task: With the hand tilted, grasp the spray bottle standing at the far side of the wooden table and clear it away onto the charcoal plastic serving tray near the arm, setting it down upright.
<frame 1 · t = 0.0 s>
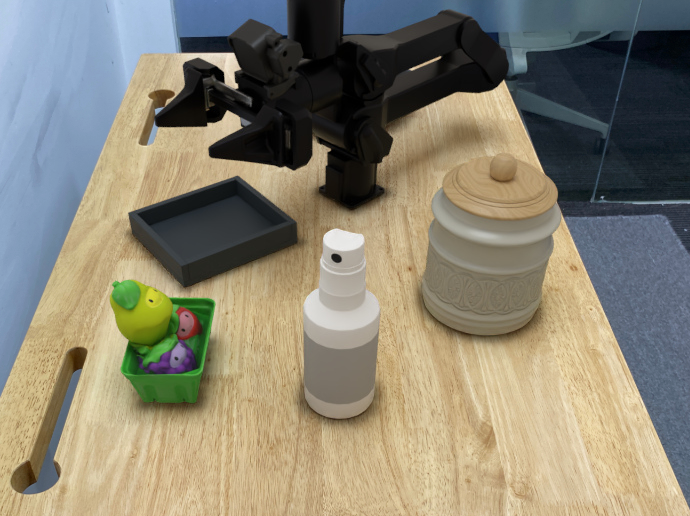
hand: (181, 136, 79), 17 cm above the table, tool horizontal, fingers open, 9 cm apart
tray: (214, 238, 95), on the table
fruit basket: (171, 373, 78), on the table
jar: (478, 302, 86), on the table
spray bottle: (339, 396, 75), on the table
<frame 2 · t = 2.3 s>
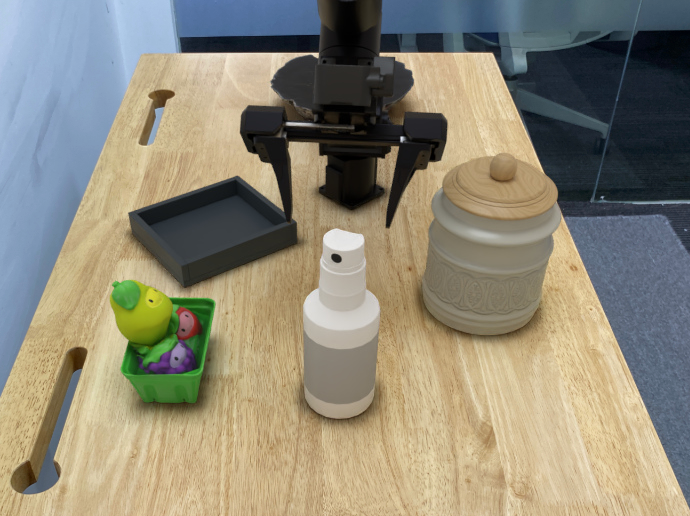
hand: (338, 225, 71), 14 cm above the table, tool tilted 45°, fingers open, 9 cm apart
nothing on the table moved.
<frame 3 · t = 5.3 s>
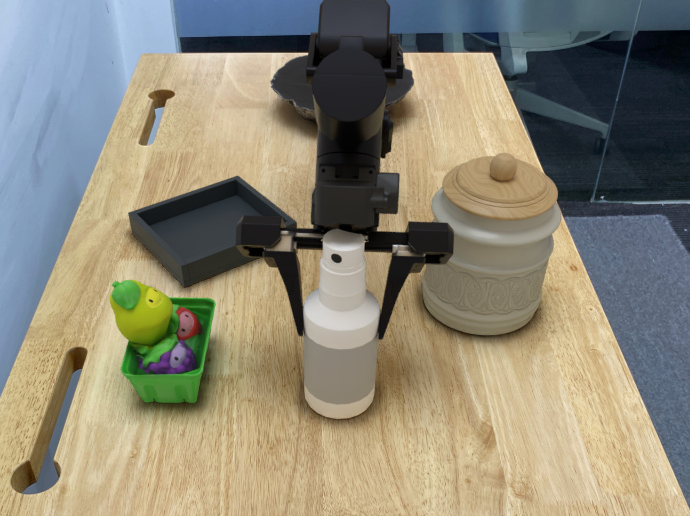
hand: (340, 337, 68), 9 cm above the table, tool tilted 45°, fingers closed on spray bottle, 7 cm apart
spray bottle: (339, 396, 75), on the table, touching gripper
everything else where it was.
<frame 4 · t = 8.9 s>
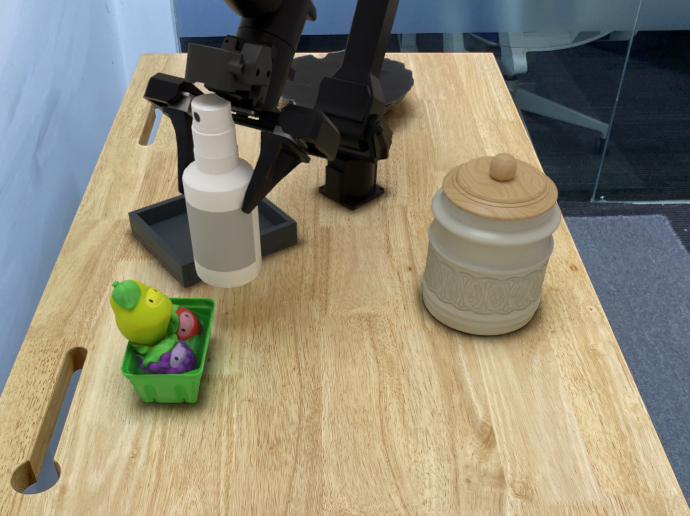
hand: (212, 203, 73), 15 cm above the table, tool tilted 45°, fingers closed on spray bottle, 7 cm apart
spray bottle: (229, 270, 80), point 6 cm above the table, touching gripper
everything else where it was.
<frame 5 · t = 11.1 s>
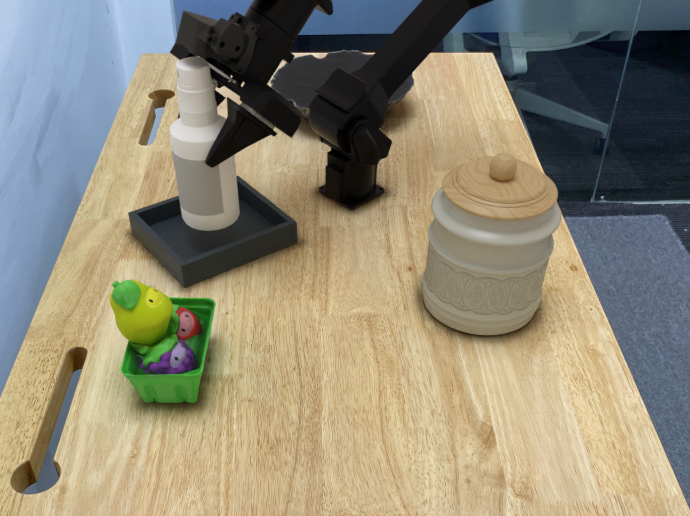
hand: (192, 152, 85), 13 cm above the table, tool tilted 45°, fingers closed on spray bottle, 7 cm apart
spray bottle: (211, 217, 91), point 4 cm above the table, touching gripper
everything else where it was.
when the fingers open (9 cm above the table, at t = 12.6 s): spray bottle stays where it is, resting on tray.
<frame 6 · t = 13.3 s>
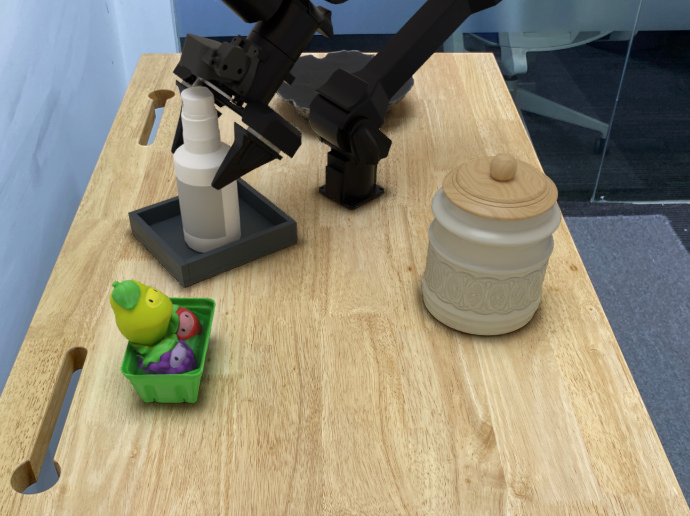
hand: (193, 170, 86), 10 cm above the table, tool tilted 45°, fingers open, 9 cm apart
spray bottle: (213, 240, 93), point 1 cm above the table, touching tray
everything else where it was.
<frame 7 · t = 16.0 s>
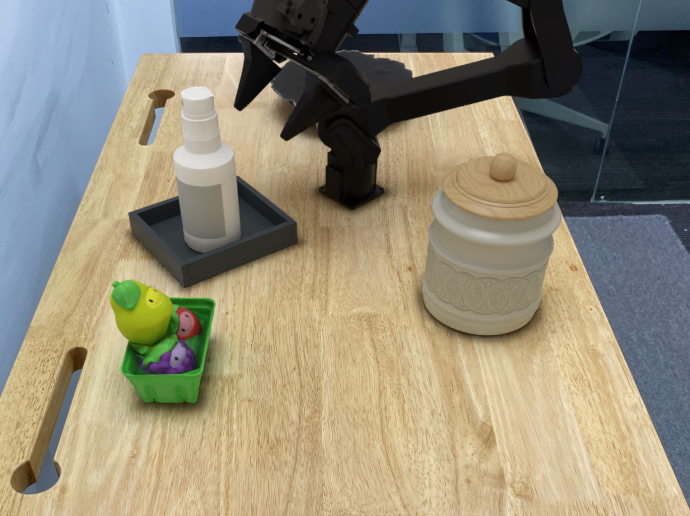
hand: (259, 123, 87), 13 cm above the table, tool tilted 45°, fingers open, 9 cm apart
nothing on the table moved.
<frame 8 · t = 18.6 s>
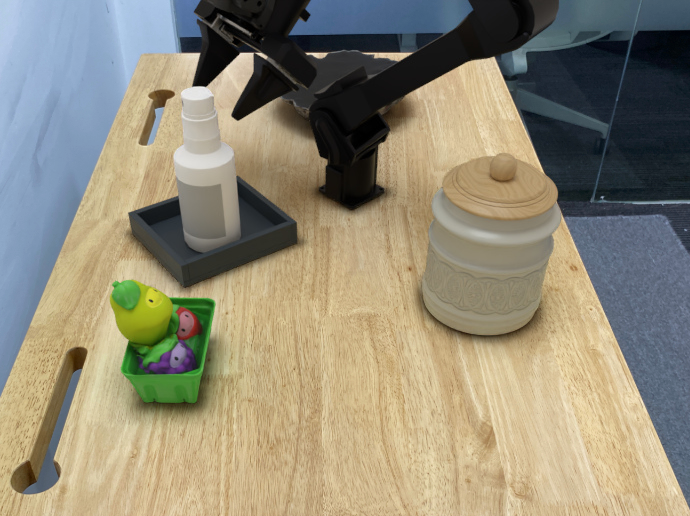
hand: (214, 104, 91), 14 cm above the table, tool tilted 45°, fingers open, 9 cm apart
nothing on the table moved.
at the end: spray bottle inside the target area in the tray (1.3 cm from its centre), point 0.6 cm above the tray's base; spray bottle tilted 0°; the gripper is holding nothing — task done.
